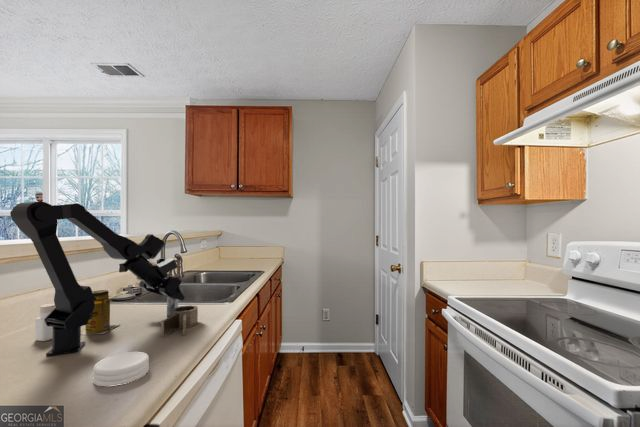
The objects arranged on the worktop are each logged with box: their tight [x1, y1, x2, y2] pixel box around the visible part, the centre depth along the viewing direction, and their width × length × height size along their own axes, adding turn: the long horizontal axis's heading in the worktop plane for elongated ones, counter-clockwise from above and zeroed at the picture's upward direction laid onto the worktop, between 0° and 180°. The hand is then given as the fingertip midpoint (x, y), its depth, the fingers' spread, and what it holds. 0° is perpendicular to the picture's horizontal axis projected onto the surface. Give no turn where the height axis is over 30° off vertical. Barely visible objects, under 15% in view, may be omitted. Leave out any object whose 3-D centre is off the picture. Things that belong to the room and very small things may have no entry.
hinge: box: [160, 304, 199, 338], centre depth 96 cm, size 15×10×5 cm, turn 23°
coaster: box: [92, 351, 150, 387], centre depth 66 cm, size 10×10×4 cm
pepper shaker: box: [34, 303, 55, 342], centre depth 88 cm, size 4×4×10 cm
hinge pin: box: [166, 296, 179, 319], centre depth 108 cm, size 4×4×10 cm
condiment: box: [81, 289, 121, 336], centre depth 95 cm, size 7×8×12 cm
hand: (176, 297), depth 109 cm, fingers open, 9 cm apart
